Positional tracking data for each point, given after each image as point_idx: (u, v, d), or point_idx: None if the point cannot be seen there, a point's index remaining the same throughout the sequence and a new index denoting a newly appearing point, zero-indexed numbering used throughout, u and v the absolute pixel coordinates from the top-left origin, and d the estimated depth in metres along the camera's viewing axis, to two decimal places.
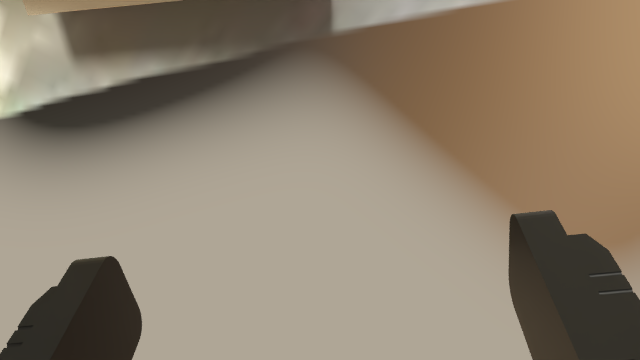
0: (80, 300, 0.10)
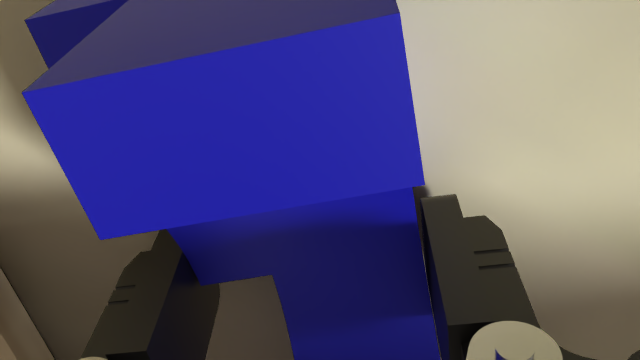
0: (177, 260, 0.11)
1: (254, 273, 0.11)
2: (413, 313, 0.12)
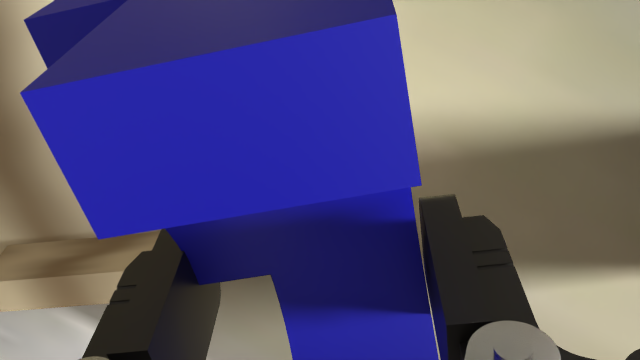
0: (178, 260, 0.11)
1: (253, 273, 0.11)
2: (411, 312, 0.12)
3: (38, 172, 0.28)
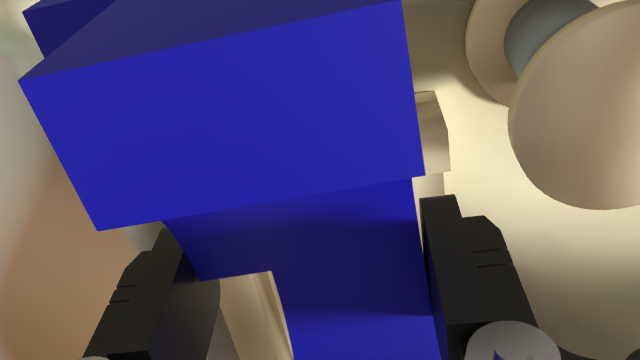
0: (178, 260, 0.11)
1: (253, 269, 0.11)
2: (413, 309, 0.12)
3: None
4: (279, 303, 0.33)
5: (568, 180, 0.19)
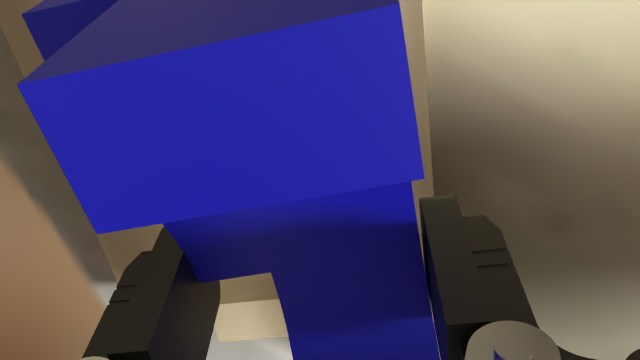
0: (178, 260, 0.11)
1: (253, 271, 0.11)
2: (412, 310, 0.12)
3: None
4: None
5: None
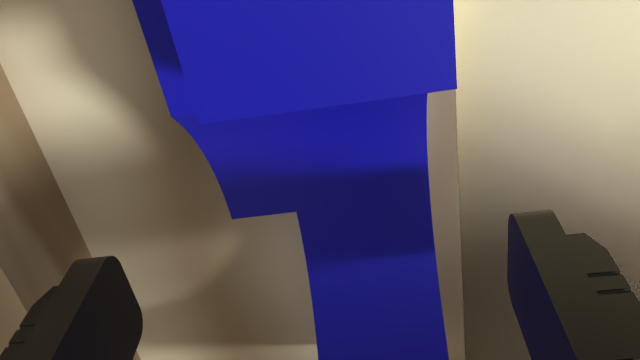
0: (81, 299, 0.10)
1: (280, 209, 0.13)
2: (418, 252, 0.13)
3: (262, 276, 0.16)
4: None
5: None
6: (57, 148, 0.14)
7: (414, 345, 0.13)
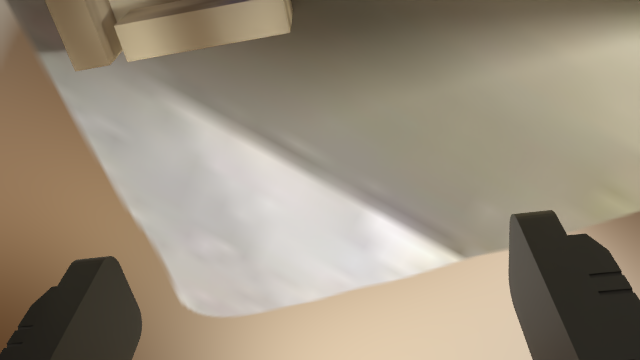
0: (80, 300, 0.10)
1: None
2: None
3: None
4: None
5: None
6: None
7: None
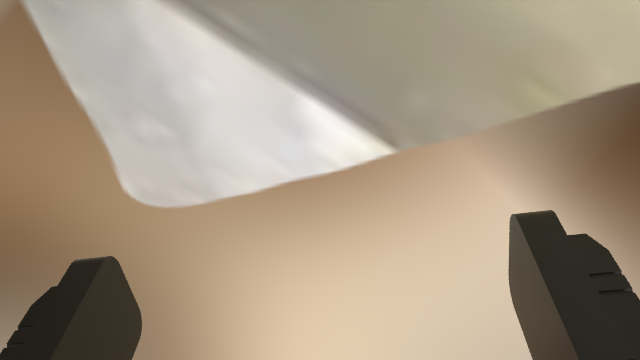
0: (80, 300, 0.10)
1: None
2: None
3: None
4: None
5: None
6: None
7: None
